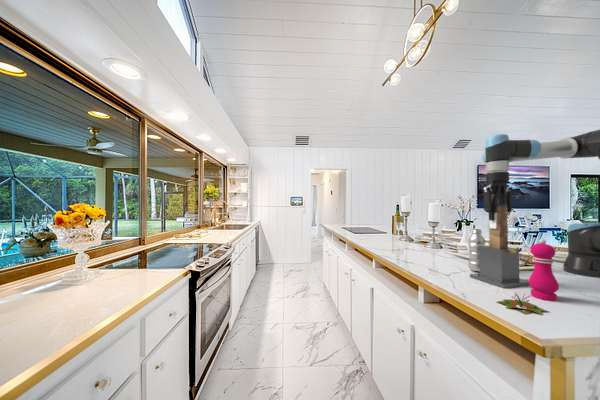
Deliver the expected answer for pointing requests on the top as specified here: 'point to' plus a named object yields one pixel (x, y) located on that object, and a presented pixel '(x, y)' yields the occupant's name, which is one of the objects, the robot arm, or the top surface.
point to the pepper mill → (543, 272)
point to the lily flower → (518, 302)
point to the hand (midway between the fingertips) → (498, 228)
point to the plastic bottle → (475, 249)
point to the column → (499, 229)
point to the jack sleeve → (500, 267)
